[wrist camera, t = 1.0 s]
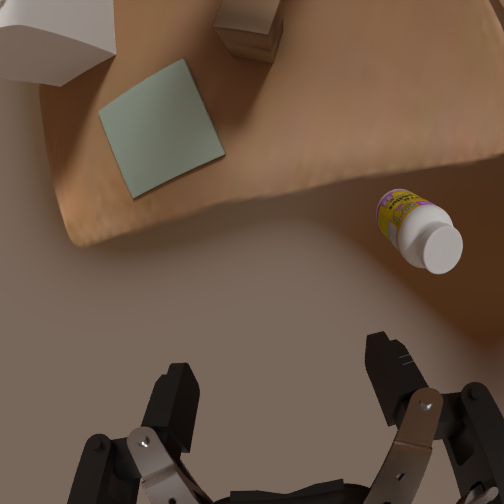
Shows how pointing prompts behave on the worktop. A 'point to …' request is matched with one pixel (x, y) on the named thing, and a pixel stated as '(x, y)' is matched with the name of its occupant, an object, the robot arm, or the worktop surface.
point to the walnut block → (250, 28)
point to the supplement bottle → (419, 231)
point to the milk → (54, 39)
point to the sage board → (160, 129)
